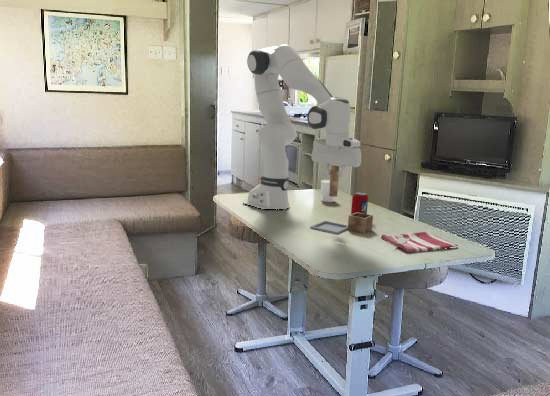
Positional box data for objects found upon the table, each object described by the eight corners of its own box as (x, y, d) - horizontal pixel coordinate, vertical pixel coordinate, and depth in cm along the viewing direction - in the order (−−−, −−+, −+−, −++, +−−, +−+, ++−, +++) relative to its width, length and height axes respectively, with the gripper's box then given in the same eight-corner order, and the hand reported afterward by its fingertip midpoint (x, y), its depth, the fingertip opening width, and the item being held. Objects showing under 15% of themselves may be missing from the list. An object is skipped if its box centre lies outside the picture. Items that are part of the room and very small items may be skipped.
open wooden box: (347, 231, 202) (348, 215, 200) (355, 227, 208) (356, 212, 206) (364, 235, 198) (365, 218, 196) (371, 231, 204) (373, 215, 202)
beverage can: (365, 222, 216) (368, 195, 214) (350, 221, 217) (352, 193, 215) (366, 218, 223) (368, 192, 220) (350, 217, 224) (353, 190, 221)
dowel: (327, 195, 200) (329, 165, 197) (331, 194, 202) (333, 164, 200) (334, 197, 198) (336, 166, 195) (338, 195, 200) (340, 165, 198)
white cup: (321, 198, 259) (323, 179, 257) (336, 200, 257) (338, 180, 255) (318, 201, 252) (319, 181, 250) (333, 203, 250) (335, 183, 248)
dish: (310, 229, 201) (310, 226, 201) (324, 223, 211) (324, 220, 211) (337, 235, 195) (337, 232, 195) (350, 229, 205) (350, 226, 205)
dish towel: (379, 240, 193) (379, 234, 193) (429, 236, 202) (429, 230, 201) (405, 255, 178) (406, 247, 177) (458, 250, 187) (459, 243, 186)
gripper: (309, 138, 198) (307, 173, 201) (357, 143, 187) (354, 180, 190) (317, 137, 204) (315, 171, 207) (364, 142, 193) (361, 178, 196)
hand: (334, 175), depth 198 cm, fingers closed on dowel, 3 cm apart
